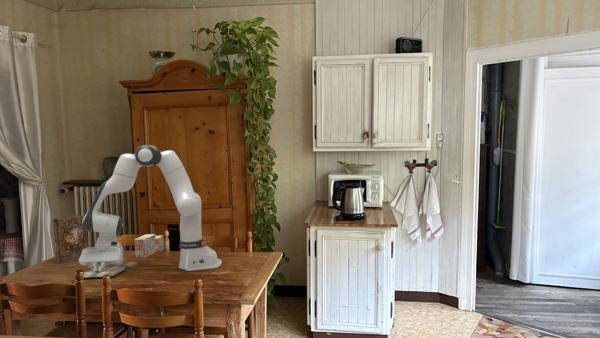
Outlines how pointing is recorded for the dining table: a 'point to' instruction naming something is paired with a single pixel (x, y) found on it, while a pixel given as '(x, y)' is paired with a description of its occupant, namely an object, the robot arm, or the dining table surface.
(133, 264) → the grey flat bar
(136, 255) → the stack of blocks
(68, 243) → the book
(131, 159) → the robot arm
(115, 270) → the metal panel
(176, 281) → the dining table surface
